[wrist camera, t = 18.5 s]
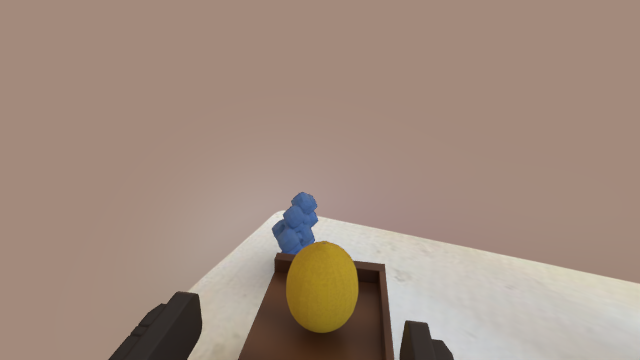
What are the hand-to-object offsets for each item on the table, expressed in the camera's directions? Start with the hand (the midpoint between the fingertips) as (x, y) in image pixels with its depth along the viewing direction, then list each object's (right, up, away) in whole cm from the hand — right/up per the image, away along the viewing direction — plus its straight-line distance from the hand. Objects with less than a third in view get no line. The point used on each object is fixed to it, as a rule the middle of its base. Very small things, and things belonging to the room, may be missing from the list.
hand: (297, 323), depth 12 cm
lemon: (+1, -7, +14) cm, 15 cm away
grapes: (-3, -8, +38) cm, 39 cm away
